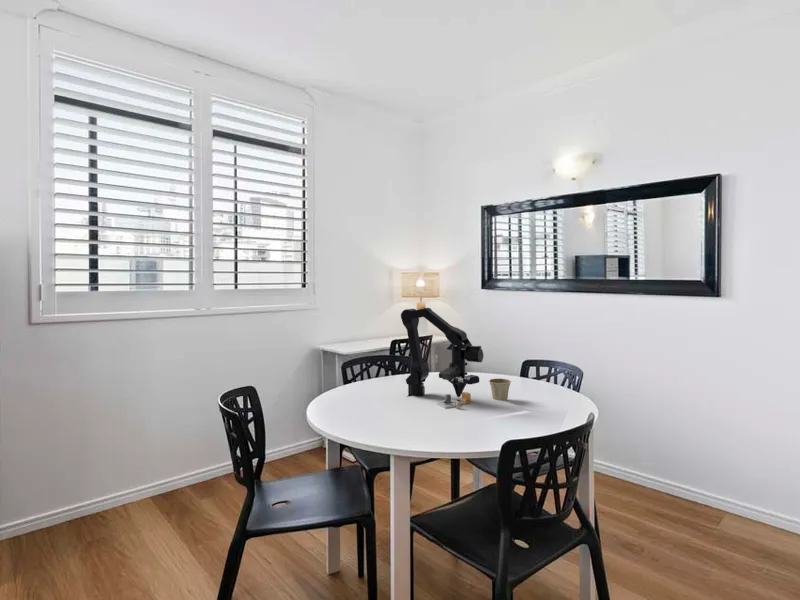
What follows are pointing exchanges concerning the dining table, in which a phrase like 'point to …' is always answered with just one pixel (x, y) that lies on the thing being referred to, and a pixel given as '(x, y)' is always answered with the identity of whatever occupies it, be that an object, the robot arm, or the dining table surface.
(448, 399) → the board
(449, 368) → the robot arm
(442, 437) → the dining table surface
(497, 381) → the flower pot
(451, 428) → the dining table surface
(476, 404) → the dining table surface
